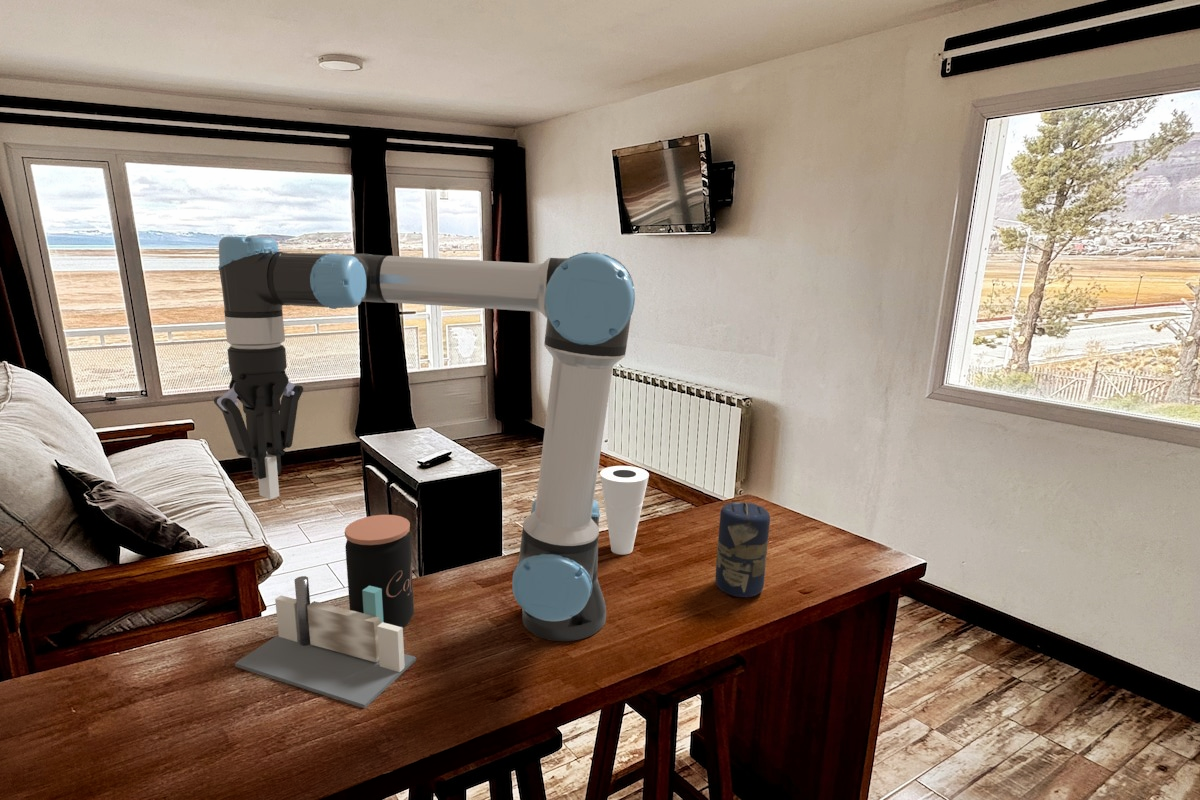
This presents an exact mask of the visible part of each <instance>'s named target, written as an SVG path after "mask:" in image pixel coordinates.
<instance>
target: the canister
mask: <svg viewBox="0 0 1200 800" xmlns="http://www.w3.org/2000/svg"><path fill="white" fill-rule="evenodd" d="M719 515H720V516H719V525H718V537H717V538H718V539H717V548H716V549H717V550H716V565H715V566H716V567H715V575H714V576H715V577H714V579H715V584H716V586H717V588H719V590H720V591H722V592H723V593H726V594H727V595H730V596H733V597H739V598H750V597H755V596H757V595H758V594H760V593H762V591H763V589H764V585H765V576H766V573H765V572H766V566H767V554H768V544H769V543H768V542H769V531H770V523H771V515H770V512H768V510H767V509H765V508H764V507H763V506H761V505H758V504H755V503H750V502H745V501H744V502H742V501H739V502H738V501H736V502H734V501H733V502H730V503H726V504H725V505H723V506H722V508H721V510H720V513H719Z"/></svg>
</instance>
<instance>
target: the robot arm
mask: <svg viewBox="0 0 1200 800" xmlns="http://www.w3.org/2000/svg"><path fill="white" fill-rule="evenodd" d="M218 242H219V243H218V263H219V265H218V271H219V276H220V282H221V283H220V284H221V291H222V297H223V299H222V300H223V308H224V311H223V313H224V322H225V323H224V324H225V334H226V335H225V336H226V342H227V343H228V344H229V345H231V346H229V347H228V349H227V360H228V368H229V372H230V375H231V380H230V383H229V384H228V385H229V386H228V387H229V390H227V391H226V392H225V393H224V394H223V395H222V396H216V397H215V398H214V399H213V402H214V405H216V406H217V407H218V409H219V410H220V411H221V412H222V415H223V418H224V421H225V423H226V426H227V430H228V431H229V434H230V437H231V440H232V442H233V445H234V448H235V450H236V453H237V455H238V456H242V457H245V458H249V459H251V468H252V475H253V478H255V479H257V481H258V493H259V497H260V496H261V497H263V498H266V499H269V500H272V499H276V498H278V497H280V485H279V476H278V475H280V474H281V472H282V458H281V456H284V455H285V453H286V450H285V449H286V448H291V447H292V445H293V440H294V433H295V432H294V431H295V426H296V420H297V413H298V405H299V401H300V398H301V395H303V392H304V387H303V386H302V385H299V384H294V383H292V382H291V381H289V376H288V374H286V369H287V353H286V352H287V351H286V347H285V346H284V345H283V344H282V343H284V342H285V341H286V336H285V327H284V325H285V324H284V314H283V306H286V307H287V306H295V307H296V306H297V307H298V306H299V307H300V306H301V307H311V308H312V307H313V308H314V307H315V308H317V307H319V308H329V309H330V310H333V309H334V310H336V309H344V308H346V309H347V308H356V307H358V306H359V305H361V303H362V302H367V303H368V302H369V303H390V304H391V303H393V304H407V305H409V304H410V305H421V306H422V305H424V306H425V305H427V306H439V307H441V306H442V307H457V308H458V307H459V308H475V309H491V310H507V311H523V312H524V311H525V312H540V313H541V314H542V315H543V316H544V317H545V318H546V325H545V334H544V344H543V345H544V347H545V349H547V351H548V353H549V354H550V355H551V357H552V367H551V375H550V384H549V393H548V399H547V409H546V418H545V424H544V431H543V432H544V433H543V441H542V448H541V457H540V466H539V467H540V468H539V475H538V481H537V482H538V483H537V491H536V498H535V499H534V500H533V502H532V508H531V511H530V514H528V515H527V516H526V517H525V518H524V519H523V523H522V531H521V540H520V547H519V556H518V560H517V565H516V566H515V568H514V570H513V573H512V577H511V578H512V579H511V580H512V583H511V587H512V594H513V597H514V599H515V601H516V602H517V604H518V605H519V607H521V608H522V610H521V611H522V614H521V615H522V616H521V617H522V624H523V625H524V627H525V628H526V629H527V631H529V632H530V633H531V634H533V635H534V636H536V637H539V638H541V639H545V640H548V641H554V642H572V641H573V642H574V641H579V640H583V639H586V638H589V637H591V636H593V635H595V634H596V633H598V632H599V631H601V629H602V628H603V627H604V625H605V624H606V621H607V606H606V601H605V598H604V594H603V591H602V589H601V585H600V583H599V580H598V562H599V556H598V555H599V535H600V527H599V526H600V525H599V520H600V517H601V514H600V507H599V506H600V505H599V502H598V501H597V500H596V499H595V495H596V486H597V479H598V472H599V466H600V460H601V458H600V457H601V451H602V444H603V437H604V430H605V423H606V418H607V417H606V416H607V409H608V403H609V396H610V395H609V394H610V388H611V382H612V375H613V367H614V365H616V364H617V363H618V362H619V361H621V360H623V358H625V356H626V354H627V353H626V352H627V346H628V338H629V332H630V325H631V320H632V319H631V318H632V315H633V312H634V308H635V303H636V302H635V301H636V300H635V299H636V292H635V287H634V281H633V278H632V275H631V274H630V272H629V270H628V269H627V268H626V266H625V265H624V264H623V263H622V262H621V261H619V260H618V259H616V258H615V257H612V256H610V255H609V254H605V253H604V254H603V253H600V252H598V251H597V252H588V251H585V252H581V253H577V254H575V255H572V256H570V257H563V258H562V257H548V258H547V259H546V260H545V261H543V263H535V262H534V263H533V262H513V261H493V260H479V259H478V260H475V259H461V258H460V259H456V258H441V257H440V258H437V257H420V256H404V255H403V256H402V255H401V256H400V255H398V256H397V255H382V254H381V255H380V254H369V253H359V252H358V253H347V254H344V253H332V252H331V253H311V252H310V253H309V252H308V253H302V252H301V253H300V252H283V251H280V249H279V245H278V242H277V241H276V239H275V238H272V237H256V236H255V237H254V236H230V235H229V236H224V237H222V238H220V240H219V241H218ZM238 401H239V402H240V403H241V404H242V411H243V413H244V414H245V421H244V418H243V416H242V413H241V410H240V408H239V407H238V406H239V402H238ZM245 423H246V424H245Z"/></svg>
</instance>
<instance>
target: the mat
mask: <svg viewBox="0 0 1200 800" xmlns="http://www.w3.org/2000/svg"><path fill="white" fill-rule="evenodd" d="M416 661H417V656H414V655H410V654H407V653H404V664H405V668H404V669H403V670H402V671H401V672H398V671H394V670H391V669H387V668H384V667H381V666H380V664H379V661H378V662H373V661H369V660H365V659H362V658H358V657H354V656H351V655H347V654H344V653H340V652H336V651H333V650H329V649H325V648H322V647H318V646H315V645H311V644H310V645H306V646H303V645H301V644H300V641H298V642H295V641H292V640H289V639H285V638H282V637H279V633H278V634H277V635H275V636H274V637H272V638H271V639H269V640H267V641H266V642H264V643H263V644H262V645H260V646H258V647H257V648H256V649H254V650H253V651H251V652H249V653H248V654H246V655H244V656H243V657H242V658H240V659H239V660H237V661H236V662H234V666H235V668H239V669H242V670H244V671H248V672H251V673H255V674H256V675H257V674H258V675H260V676H263V677H267V678H270V679H272V680H275V681H279V682H282V683H285V684H288V685H292V686H295V687H297V688H301V689H304V690H307V691H309V692H313V693H315V694H316V693H317V694H318V695H322V696H324V697H325V696H326V697H328V698H331V699H334V700H338V701H341V702H344V703H346V704H350V705H353V706H356V707H359V708H363V709H366V708H367V707H369V705H370V704H371V703H373V702H374V701H375V700H376V699H377V698H378V697H379V696H380V695H381V694H382V693H383V692H384V691H385V690H387V688H388V687H390V685H392V684H393V683H394V682H395V681H396V680H397V679H398V678H399V677H400V676H402V674H404V672H406V670H408V669H409V668H410V667H411V666H412V665H413V664H414V663H415V662H416Z"/></svg>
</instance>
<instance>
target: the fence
mask: <svg viewBox="0 0 1200 800" xmlns="http://www.w3.org/2000/svg"><path fill="white" fill-rule="evenodd" d="M274 600H275V602H274V603H275V609H276V612H275V613H276V623H277V631H278V634H279V637H282V638H285V639H289V640H292V641H295V642H298V641H300V636H299V625H298V614H297V603H296V598H292V597H289V596H284V595H281V594H280V595H279V596H278V597H276V598H274ZM377 630H378V647H379V664H380V666H381V667H384V668H387V669H391V670H394V671H398V672H401V671H402V670H403V669H404V668H405V664H404V654H405V646H404V628H402V627H399V626H395V625H391V624H387V623H384V622H382V623H381V624H380V625H378V626H377Z"/></svg>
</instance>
